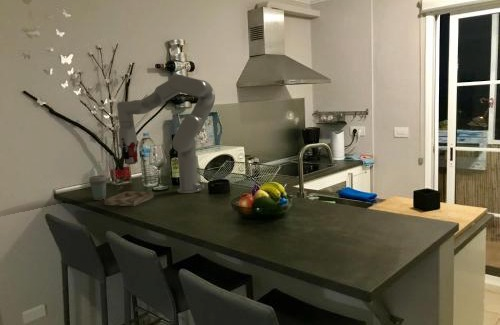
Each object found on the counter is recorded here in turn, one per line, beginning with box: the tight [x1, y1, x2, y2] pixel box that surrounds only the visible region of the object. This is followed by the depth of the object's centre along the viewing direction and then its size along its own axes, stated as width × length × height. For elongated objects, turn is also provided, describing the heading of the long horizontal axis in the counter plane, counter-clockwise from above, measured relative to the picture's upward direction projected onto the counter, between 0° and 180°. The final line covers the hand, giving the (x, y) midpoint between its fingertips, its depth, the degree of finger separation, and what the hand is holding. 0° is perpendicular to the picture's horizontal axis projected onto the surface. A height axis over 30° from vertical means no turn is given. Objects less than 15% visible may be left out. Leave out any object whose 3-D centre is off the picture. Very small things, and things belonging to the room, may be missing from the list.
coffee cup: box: [88, 174, 107, 201], centre depth 216 cm, size 8×8×12 cm
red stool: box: [123, 141, 138, 165], centre depth 224 cm, size 7×7×12 cm
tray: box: [103, 191, 155, 207], centre depth 208 cm, size 17×17×3 cm
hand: (130, 157), depth 224 cm, fingers closed on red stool, 6 cm apart
